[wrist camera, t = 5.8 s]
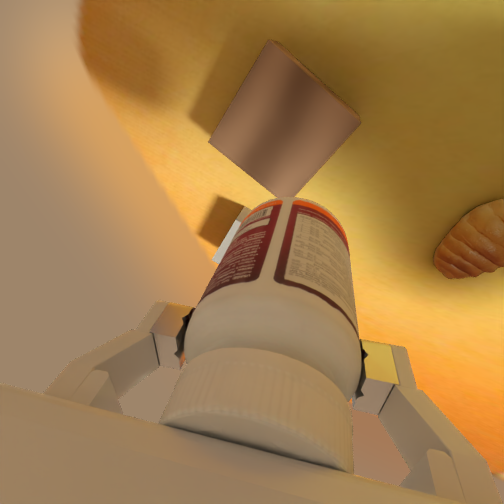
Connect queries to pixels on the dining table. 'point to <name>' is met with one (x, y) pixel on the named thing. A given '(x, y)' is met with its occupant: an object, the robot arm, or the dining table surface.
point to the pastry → (473, 243)
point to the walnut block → (283, 123)
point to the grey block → (230, 235)
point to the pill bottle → (276, 340)
